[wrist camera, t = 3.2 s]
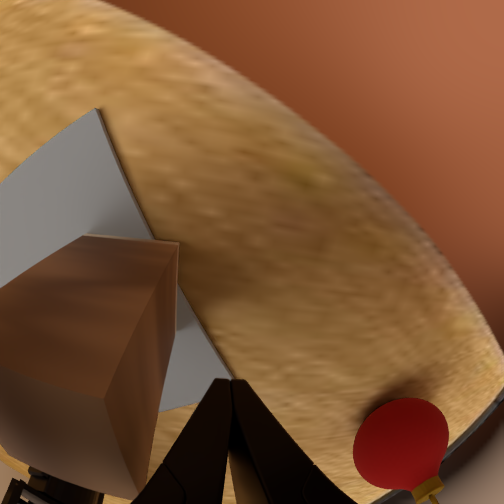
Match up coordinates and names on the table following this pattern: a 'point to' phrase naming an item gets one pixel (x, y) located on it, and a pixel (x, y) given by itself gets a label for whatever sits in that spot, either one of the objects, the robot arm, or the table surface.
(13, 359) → the walnut block
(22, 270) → the mat
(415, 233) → the table surface
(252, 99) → the table surface
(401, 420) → the christmas ornament
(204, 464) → the robot arm
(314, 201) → the table surface
